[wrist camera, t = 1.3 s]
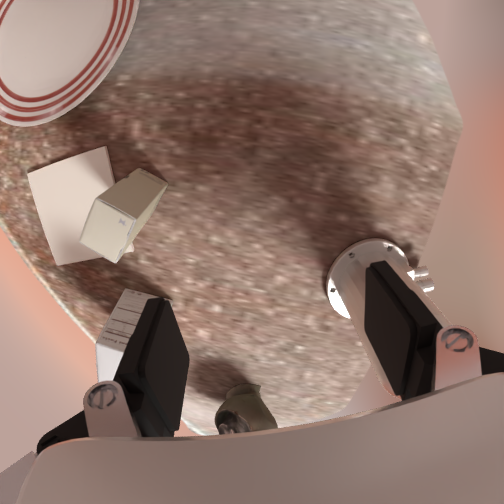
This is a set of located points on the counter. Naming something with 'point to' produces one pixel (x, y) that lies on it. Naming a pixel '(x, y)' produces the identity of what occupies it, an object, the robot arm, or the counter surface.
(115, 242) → the box
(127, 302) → the supplement box
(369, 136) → the counter surface
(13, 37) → the dinner plate
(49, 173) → the beige flat slab
